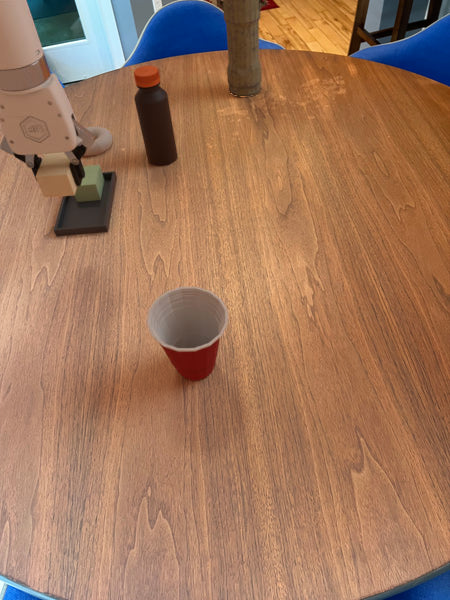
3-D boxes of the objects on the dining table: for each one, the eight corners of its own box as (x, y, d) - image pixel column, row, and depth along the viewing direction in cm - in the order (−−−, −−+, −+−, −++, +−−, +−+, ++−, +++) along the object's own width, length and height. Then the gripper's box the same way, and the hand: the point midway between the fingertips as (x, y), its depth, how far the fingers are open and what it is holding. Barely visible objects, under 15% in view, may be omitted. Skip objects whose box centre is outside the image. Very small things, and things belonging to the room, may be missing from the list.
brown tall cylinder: (222, 83, 131) (211, -76, 105) (266, 80, 131) (265, -80, 104) (222, 99, 125) (209, -65, 99) (267, 96, 125) (267, -70, 98)
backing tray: (56, 238, 93) (53, 230, 92) (71, 183, 105) (68, 175, 104) (108, 234, 93) (105, 225, 92) (117, 179, 105) (115, 170, 103)
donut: (93, 133, 119) (63, 152, 114) (90, 120, 116) (59, 138, 111) (123, 143, 115) (93, 163, 110) (119, 130, 112) (89, 150, 107)
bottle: (149, 170, 106) (130, 81, 91) (146, 154, 111) (127, 66, 96) (179, 165, 107) (165, 75, 92) (175, 149, 111) (160, 60, 96)
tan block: (44, 197, 78) (35, 176, 74) (53, 172, 82) (44, 151, 79) (74, 195, 77) (67, 174, 74) (81, 170, 82) (74, 149, 79)
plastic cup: (226, 401, 68) (220, 353, 59) (153, 392, 69) (136, 344, 60) (238, 339, 75) (234, 287, 65) (171, 332, 76) (158, 281, 67)
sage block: (77, 202, 100) (71, 186, 97) (81, 182, 104) (76, 166, 101) (100, 200, 100) (95, 184, 96) (104, 180, 104) (99, 164, 101)
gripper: (-50, 89, 64) (6, 200, 77) (77, 79, 63) (111, 192, 77) (-32, 64, 68) (18, 173, 82) (86, 55, 68) (116, 165, 82)
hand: (62, 181), depth 79 cm, fingers closed on tan block, 5 cm apart
